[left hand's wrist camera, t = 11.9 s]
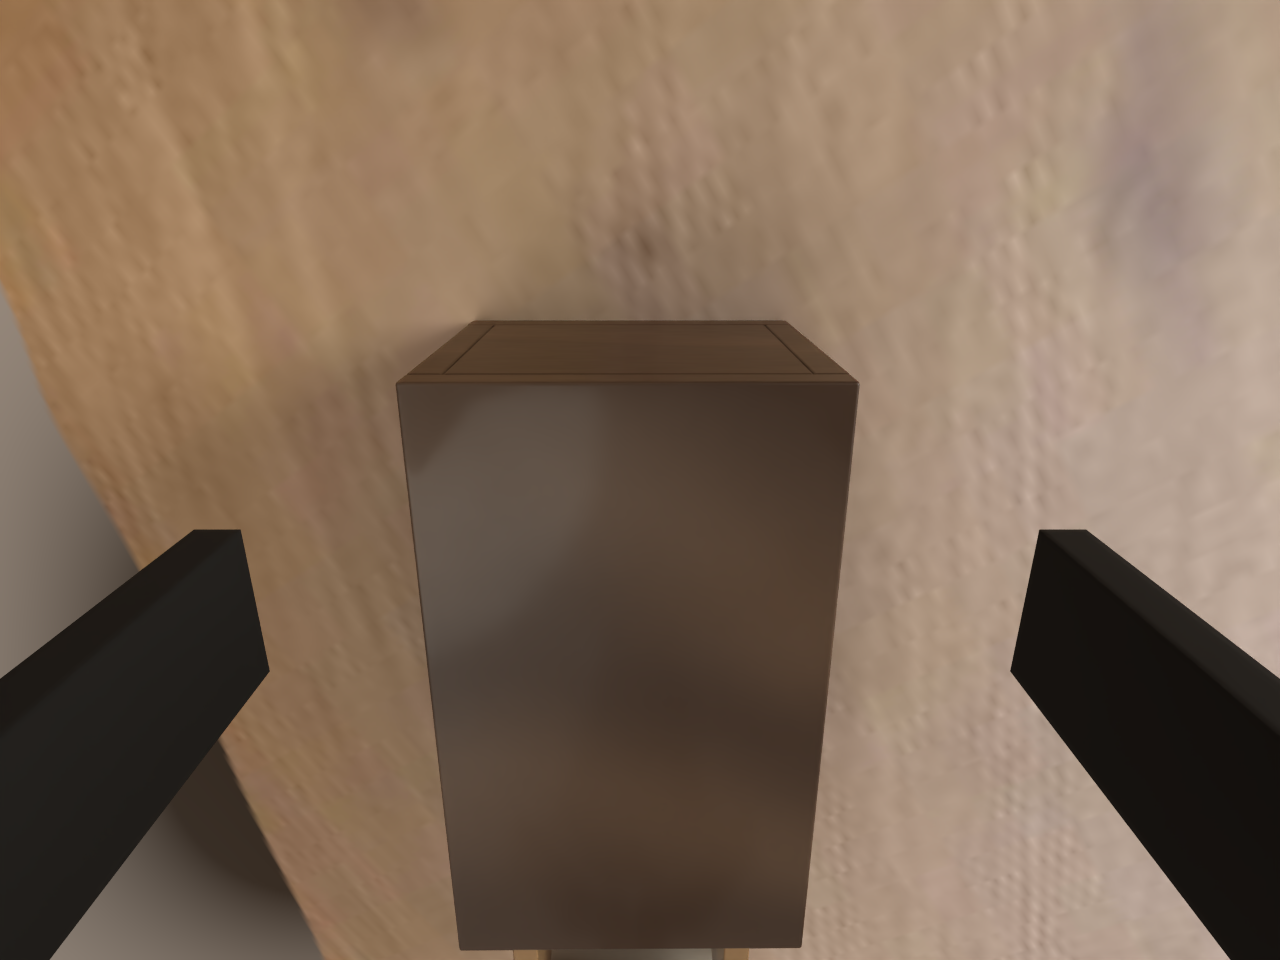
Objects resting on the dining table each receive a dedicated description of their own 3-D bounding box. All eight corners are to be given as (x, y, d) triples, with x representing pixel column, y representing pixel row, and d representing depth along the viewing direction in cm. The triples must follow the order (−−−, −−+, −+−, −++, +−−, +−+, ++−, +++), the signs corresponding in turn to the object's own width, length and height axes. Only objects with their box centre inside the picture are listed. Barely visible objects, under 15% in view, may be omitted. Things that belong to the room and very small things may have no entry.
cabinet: (757, 750, 31) (801, 949, 23) (504, 751, 31) (459, 951, 23) (786, 320, 25) (860, 381, 17) (472, 320, 25) (394, 382, 17)
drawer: (731, 996, 34) (754, 1179, 28) (532, 998, 34) (509, 1182, 28) (756, 580, 27) (795, 699, 21) (503, 581, 27) (463, 701, 21)
